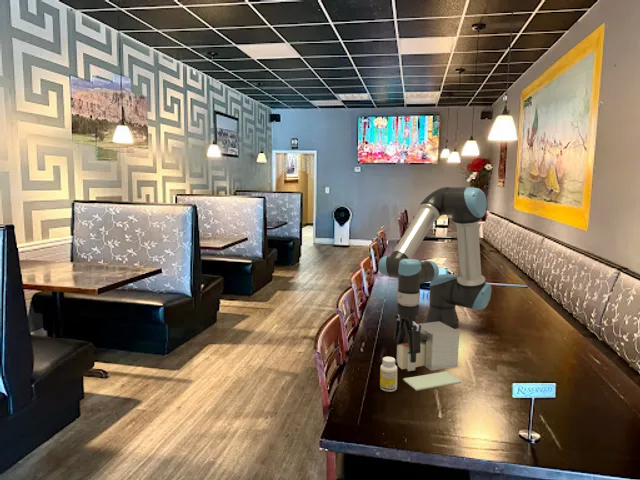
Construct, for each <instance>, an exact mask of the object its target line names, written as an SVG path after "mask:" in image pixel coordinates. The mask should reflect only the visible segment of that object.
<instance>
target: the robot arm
mask: <svg viewBox="0 0 640 480" xmlns="http://www.w3.org/2000/svg"><path fill="white" fill-rule="evenodd" d="M487 208H488V201H487V197H486V194H485V193H484V191H483V190H482V189H480V188H478V187H470V186H468V187H465V186H461V187H455V186H454V187H453V186H451V187H450V186H445V187H443V186H442V187H440V188H437V189H436V190H434V191H432V192H431V193H429V194H428V195H427V196H426V197H424V199H423V200H421V202H420V204H419V206H418V208H417V213H416V215H415V216H414V218H413V220H412V221H411V222H410V224H409V225H408V227H407V229H406V230H405V232H404V234H403V235H402V236H401V238H400V240H399V242H398V243H397V244H396V246H395V248H394V249H393V251H392V253H391V254H390V256H389V255H385V256H381V258H380V259H379V262H378V270H379V271H378V272H379V273H380V274H381V275H382V276H386V277H389V278H395V279H398V280H397V302H398V303H397V304H396V305H397V307H396V310H397V311H396V314H395V315H394V330H393V341H394V342H395V343H396V363H397V364H398V347H399V345H401V344H405V343H406V341H405V338H406V335H407V343H408V344H409V351H410V352H408V366H407V369H406V371H407V372H411V371H416V367H415V363H416V354H417V353H420V352H421V351H420V330H421V325H417V324H418V323H417V320H416V319H417V318H416V317H418V316H419V314H420V305H419V303H420V299H421V298H420V296H421V295H420V294H421V293H420V292H421V290H420V289H421V285H423V284H425V283H429V302H428V303H429V306H428V310H427V311H426V315H425V317H424V323H430V322H438V321H440V322H442V323H444V324H445V325H447V326H449V327H451V328H453V329H457V328H458V327H459V325H460V324H459V323H460V322H459V321H460V320H459V317H458V313H457V310H456V307H457V306H458V307H463V308H467V309H472V310H477V311H482V310H484V309H486V307H487V306H488V304H489V302H490V300H491V297H492V296H491V295H492V286H491V284H489V283H486V276H484V275H483V274H482V266H481V265H482V264H481V262H482V261H481V247H480V235H479V233H480V231H479V223H480V222H481V221H482V218H483V217H484V216H485V215H486V213H487ZM441 216H451V221H452V223H453V224H455V226H456V227H455V228H456V237H457V239H456V240H457V251H458V264H459V276H457V275H456V274H451V273H444V274H443V273H442V274H439V273H440V269H439V266H438V264H437V263H435V261H432V260H424V261H420V260H419V259H415V258H413V257H414V255H415V253H416V252H417V250H418V249H419V247H420V246H421V243H422V242H423V240H424V239H425V237H426V236H427V234H428V232H429V230H430V228H431V227H432V226H433V224H434V222H437V221H439V219H440V217H441Z"/></svg>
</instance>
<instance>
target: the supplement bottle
mask: <svg viewBox="0 0 640 480" xmlns="http://www.w3.org/2000/svg"><path fill="white" fill-rule="evenodd" d="M379 371H380V372H379V373H380V374H379V387H380V390H382V391H384V392H391V393H392V392H395V391H396V390H397V389H398V365H396V359H395V358H394V356H393V357H392V356H384V357H382V364H381V365H380V370H379Z"/></svg>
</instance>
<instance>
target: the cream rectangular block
mask: <svg viewBox="0 0 640 480" xmlns="http://www.w3.org/2000/svg"><path fill="white" fill-rule="evenodd" d="M420 351H421V352H420V353H417V354H416V363H415V368H418V367H425V356H426V341H423V342H420ZM408 352H410V351H409V344H408V342H405V343H404V344H401V345H399V347H398V363H397V368H400V369H401V370H407V366H408Z"/></svg>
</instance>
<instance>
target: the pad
mask: <svg viewBox="0 0 640 480" xmlns="http://www.w3.org/2000/svg"><path fill="white" fill-rule="evenodd" d="M402 381H404V382H405V383H406V384H408V385H409V386H410V387H411V388H412V389H414V390H415V391H421V390H427V389H433V388H438V387H444V386H449V385H455V384H460V383H462V381H461V380H460V379H458V378H457V377H456V376H454V375H453V374H451V373H449V372H448V371H446V370H445V371H439V372H434V373H428V374H423V375H417V376H416V375H415V376H412V377H411V376H410V377H404V378H402Z"/></svg>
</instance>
